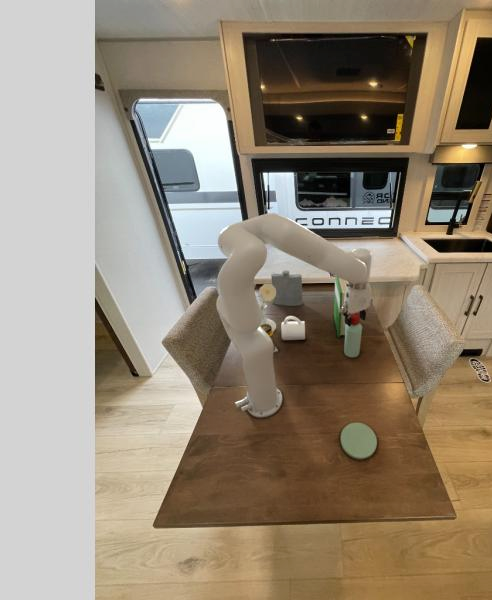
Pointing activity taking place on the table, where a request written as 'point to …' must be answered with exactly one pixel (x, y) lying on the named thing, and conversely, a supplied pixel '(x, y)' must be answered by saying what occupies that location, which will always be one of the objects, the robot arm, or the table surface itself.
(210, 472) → the table surface
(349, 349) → the bottle
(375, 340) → the table surface
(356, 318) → the cap
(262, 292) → the flower in vase
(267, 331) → the condiment
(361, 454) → the coaster
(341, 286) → the hardback book
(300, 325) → the mug
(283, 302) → the hip flask
